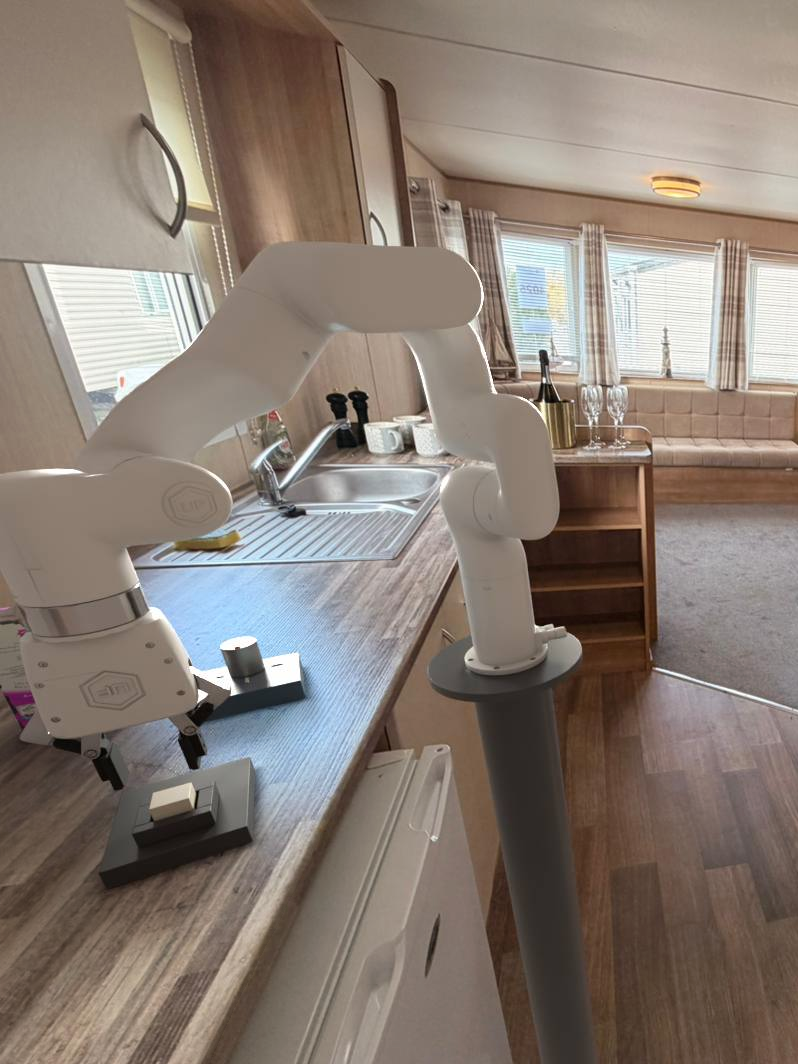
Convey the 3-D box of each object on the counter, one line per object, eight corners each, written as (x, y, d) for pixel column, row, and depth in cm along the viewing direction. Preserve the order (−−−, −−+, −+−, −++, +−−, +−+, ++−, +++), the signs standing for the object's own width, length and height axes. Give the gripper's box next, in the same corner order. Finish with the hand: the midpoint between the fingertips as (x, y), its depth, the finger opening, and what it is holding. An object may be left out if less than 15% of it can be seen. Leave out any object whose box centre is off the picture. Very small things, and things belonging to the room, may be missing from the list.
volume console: (303, 666, 100) (297, 648, 99) (305, 698, 92) (300, 679, 91) (201, 687, 93) (194, 668, 92) (195, 724, 85) (187, 704, 84)
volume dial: (230, 668, 93) (220, 639, 91) (265, 661, 95) (255, 632, 93) (228, 680, 90) (217, 650, 88) (264, 672, 92) (254, 643, 90)
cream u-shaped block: (196, 795, 68) (191, 782, 68) (194, 811, 66) (188, 798, 65) (158, 806, 67) (152, 792, 66) (154, 823, 64) (148, 809, 64)
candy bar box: (152, 698, 90) (108, 592, 84) (144, 715, 86) (97, 605, 80) (38, 720, 84) (-20, 608, 78) (24, 739, 81) (-38, 623, 74)
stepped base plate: (255, 771, 77) (245, 744, 76) (253, 842, 67) (241, 812, 66) (129, 806, 71) (116, 777, 70) (106, 890, 61) (90, 859, 60)
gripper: (-77, 650, 50) (25, 829, 57) (210, 604, 59) (266, 762, 67) (-43, 615, 55) (47, 783, 62) (215, 578, 65) (267, 727, 72)
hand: (159, 770), depth 64 cm, fingers open, 4 cm apart
